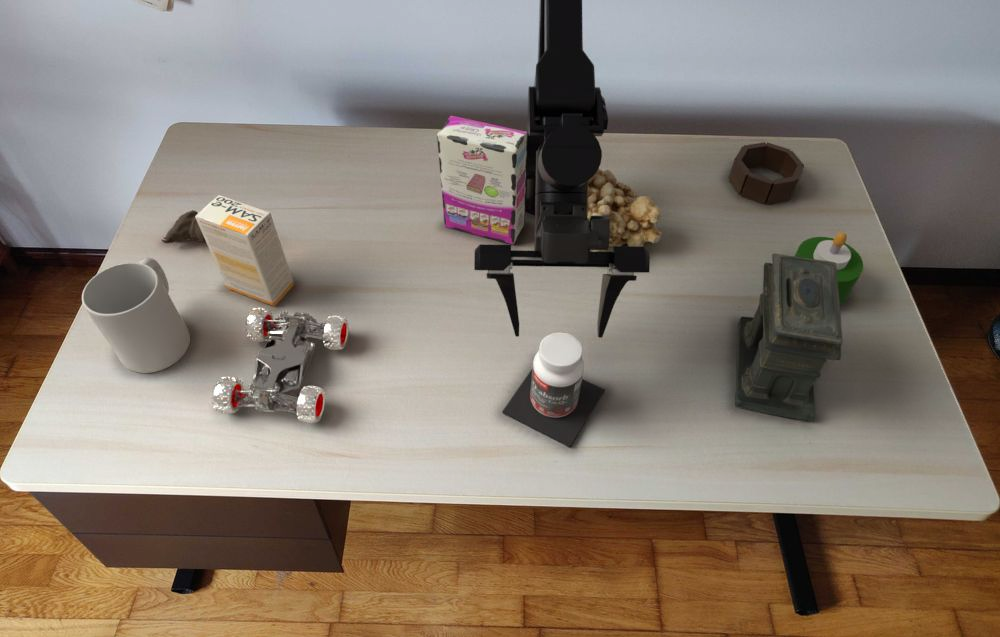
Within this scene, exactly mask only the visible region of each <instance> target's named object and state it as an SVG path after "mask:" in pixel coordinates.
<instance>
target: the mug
mask: <svg viewBox="0 0 1000 637" xmlns="http://www.w3.org/2000/svg"><path fill="white" fill-rule="evenodd" d="M169 291H170V286H169V282H168V278H167V275H166V273H165V271H164V269H163V267H162V266H161V264H160V263H159V262H158V261H157V260H156V259H154V258H153V257H144V258H143V259H141V260H140V261H139V262H123V263H117V264H115V265H111V266H109V267H107V268H105V269H103V270H101V271H99V272H98V273H97V274H95V275H94V276H92V277H91V278H90V280H89V281H88V282H87V283H86V284H85V286H84V287H83V290H82V293H81V304H82V306H83V308H84V310H85V311H86V313H87V314H88V315H89V317H90V319H91V320H92V322H94V324H95V326H96V327H97V328H98V330H99V331H100V333H101V334H102V335H103V337H104V339H105V340H106V341H107V343H108V345H109V346H110V347H111V349H112V350H113V352H114V354H115V355H116V357H117V358H118V360H119V362H121V363H122V365H123V366H124V367H125V368H126V369H128V370H130V371H132V372H135V373H140V374H149V373H150V374H151V373H156V372H160V371H163V370H166V369H168V368H169V367H171V366H173V365H174V364H176V363H177V362H178V361H179V360H181V359H182V357H183V356H184V355H185V354H186V353H187V350H188V348H189V347H190V342H191V335H190V330H189V328H188V327H187V325H186V323H185V321H184V320H183V318H182V316H181V315H180V313H179V311H178V309H177V307H176V305H175V303H174V302H173V299H172V298H171V296H170V294H169Z"/></svg>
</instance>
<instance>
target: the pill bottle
mask: <svg viewBox="0 0 1000 637" xmlns="http://www.w3.org/2000/svg"><path fill="white" fill-rule="evenodd" d="M532 368H533V371H532V381H531V392H530V397H531V402H532V404H533V406H534V407H535V409H536V410H537V411H538V412H540V413H541V414H543V415H545V416H548V417H553V418H557V417H563V416H566V415H568V414H569V413H571V412H572V411H573V410H574V409H575V407H576V405H577V403H578V399H579V393H580V388H581V382H582V379H583V376H584V372H585V363H584V359H583V345H582V344H581V342H580V341H579V340H578V339H577V338H576V337H575V336H574V335H573V334H572V335H571V334H570V333H567V332H553V333H550V334H548V335H546V336H545V337H544V338H542V340H541V341H540V344H539V347H538V351H537V352H536V354H535V356H534V357H533V362H532Z"/></svg>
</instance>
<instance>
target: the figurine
mask: <svg viewBox="0 0 1000 637" xmlns="http://www.w3.org/2000/svg"><path fill="white" fill-rule="evenodd" d="M198 213H199V212H197V211H196V210H195V209H194V210H190V211H187V212H185V213H183V214H181V215H180V216H179V217H178V218H177V220H176V221H175V222H174V224H173V226H172V227H171V228H170V229H169V230H168V231H167V233H166V235H165V236H164V237H163V239H161V242H162V243H164V244H172V243H173V244H174V243H175V242H187V241H189V240H190V241H192V240H193V241H199V242H203V243H207V242H206V240H205V238H204V236H203V234H202V231H201V229H200V227H199V225H198V222H197V220H196V218H195V216H196V215H197V214H198Z"/></svg>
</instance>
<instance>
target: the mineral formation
mask: <svg viewBox="0 0 1000 637" xmlns="http://www.w3.org/2000/svg"><path fill="white" fill-rule="evenodd" d="M617 181H618V180H617V177H616V176H615V174H614V173H613V171H611V170H610V169H605V170H604V171H603V170H602V169H601V168H599V169H598V171H597V172H596V173H595V175H594V176H593V177H592V178H591V179H589V180H588V194H587V195H588V212H587V218H588V220H590V216H592V215H597V216H609V219H610V239H609V246H623V245H625V244H627V246H632V247H644V244H645V243H649V242H651V243H652V244H657V243H659V241H660V239H661V238H662V233H663V232H661V231H660V230H658V228H657V225H656V223H658V221H659V220H660V218H661V217H662V210H661V209H660V207H659V206H657V205H656V203H655V202H654V201H653V199H652V198H651V197H650V196H647V195H641V196H638V192H637V190H636V189H635V188H631V186H630V185H628V184H625V183H623V182H620V181H618V182H617ZM635 198H636V199H635ZM590 251H597V252H606V251H607V250H590Z"/></svg>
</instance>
